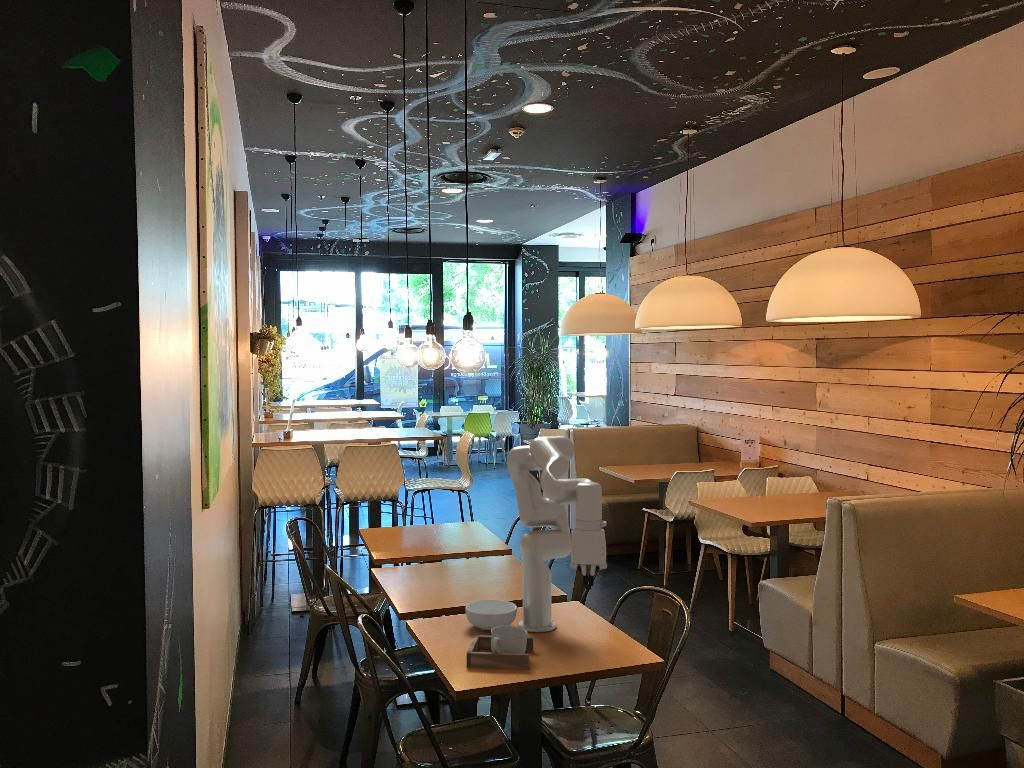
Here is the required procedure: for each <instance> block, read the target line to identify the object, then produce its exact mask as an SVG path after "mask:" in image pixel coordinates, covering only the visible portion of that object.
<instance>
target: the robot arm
mask: <svg viewBox="0 0 1024 768" xmlns="http://www.w3.org/2000/svg"><path fill="white" fill-rule="evenodd" d="M574 454H575V446H574V443H573V441H572V440H571V439H570V438H569V437H567V436H566V435H546V436H544V435H542V436H539V437H536V438H534V439H533V440H532V441H531V442H530V444H529V445H520V446H519V445H518V446H515V447H512V448H511V449H510V450H509V451H508V454H507V455H506V456H507V460H506V466H507V471H508V474H509V478H510V479H511V481H512V484H513V486H514V490H515V497H516V503H517V510H518V516H519V521H520V524H522V526H523V527H525V528H542V527H550V529H541V530H540V529H539V530H531V531H527V532H525V533H524V534H522V535H521V537H520V539H519V542H518V543H519V551H520V552H519V553H520V558H521V565H522V566H521V567H522V620H520V621H518V623H517V627H521V628H523V629H525V630H527V632H530V633H544V632H545V633H546V632H550V631H553V630H555V629H556V628H557V622H555V621H554V620H553V619H552V616H553V615H552V572H551V569H550V568H549V567H548V565H547V564H546V563H545V561H546V560H555V559H562V558H567V557H568V556H570V564H569V567H570V568H571V569H574V570H575V569H576V570H578V571H579V572H580V573H581V574H582V583H583V584H582V586H583V587H585V590H589V591H591V590H592V587H594V585H595V584H594V576H595V575H596V574H597V572H599V571H600V570H605V569H607V568H608V564H607V541H606V533H605V532H606V531H605V529H603V527H607V522H608V521H605V520H603V519H602V518H603V517H602V516H603V514H602V511H603V510H602V509H603V508H602V506H603V504H602V498H603V497H602V496H603V493H602V491H603V490H602V489H603V488H602V485H601V484H600V483H599V482H594V481H592V480H591V479H589V478H586V477H581V478H563V477H565V476H566V475H567V473H568V472H569V469H570V461H571V460H572V459H573V458H574ZM530 471H542V472H541V474H540V475H541V476H540V482H539V481H538V480H537V479H536V477H535V476H534V475H533V474H532V473H530ZM541 489H542V490H541ZM542 492H543V493H544V495H545V496H546V497H543V495H542ZM565 505H566V506H567V505H575V528H573V529H572V532H571V531H570V525H569V518H568V513H567V509H566V506H565ZM587 566H590V571H589V573H588V571H587Z"/></svg>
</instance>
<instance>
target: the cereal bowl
mask: <svg viewBox="0 0 1024 768" xmlns="http://www.w3.org/2000/svg"><path fill="white" fill-rule="evenodd" d="M517 612H518V607H517V605H516V604H515V603H513V602H510V601H508V600H503V599H502V600H501V599H483V600H475V601H472V602H469V603H468V604H467V605H466V606H465V616H466V619H467V621H468V622H469V624H471V625H472V626H474V627H475V628H479V630H481V629H483V630H482V631H485V630H491V629H492V628H494V627H496V626H506V625H508V626H511V624H513V623H514V622H515V620H516V617H517Z"/></svg>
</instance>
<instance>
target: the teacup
mask: <svg viewBox="0 0 1024 768" xmlns="http://www.w3.org/2000/svg"><path fill="white" fill-rule="evenodd" d="M490 632H491V634H490V636H491V650H490V651H492V652H491V653H521V654H526V653H525V652H526V651H525V650H526V643H527V637H528V634H529V633H528V632H529V631H527V630H525V629H523V628H521V627H518V625H517V626H516V625H509V626H508V625H506V626H496V627H494V628H492V629H491V631H490Z"/></svg>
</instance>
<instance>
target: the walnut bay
mask: <svg viewBox="0 0 1024 768" xmlns="http://www.w3.org/2000/svg"><path fill="white" fill-rule="evenodd" d="M479 649H483V650H482V651H480V650H479ZM486 651H487V652H486ZM488 651H492V650H491V635H481V634H480V635H479V634H478V635H477V634H475V635H474V637H473V639H472V641H471V643H470V645H469V648H468V649H467V651H466V668H483V669H504V670H505V669H507V670H509V669H511V670H530V654H529V653H524V654H521V653H493V652H488ZM525 652H534V637H533V636H527V643H526V650H525Z"/></svg>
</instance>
